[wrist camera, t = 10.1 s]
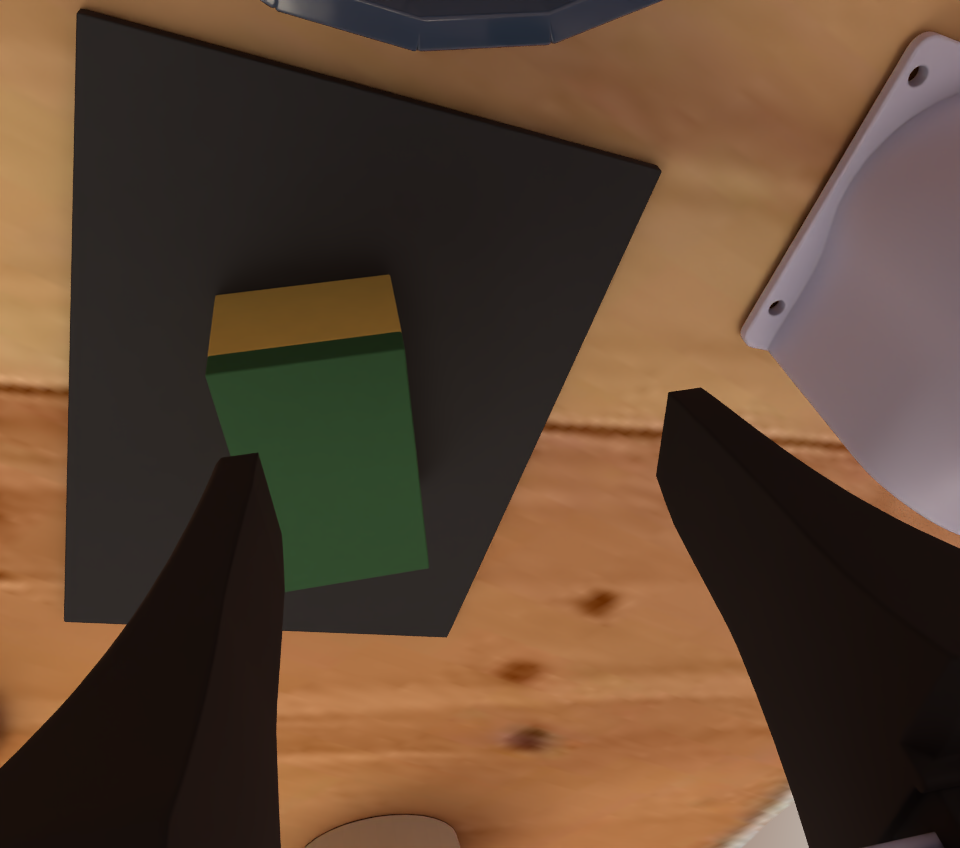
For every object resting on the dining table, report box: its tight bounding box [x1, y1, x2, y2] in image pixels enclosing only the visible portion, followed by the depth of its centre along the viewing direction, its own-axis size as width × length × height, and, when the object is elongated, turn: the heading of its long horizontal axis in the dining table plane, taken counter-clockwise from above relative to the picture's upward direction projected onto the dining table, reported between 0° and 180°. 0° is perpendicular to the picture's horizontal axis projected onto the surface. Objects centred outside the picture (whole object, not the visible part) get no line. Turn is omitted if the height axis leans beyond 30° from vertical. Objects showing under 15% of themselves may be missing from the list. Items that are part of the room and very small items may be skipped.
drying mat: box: [64, 9, 661, 637], centre depth 25 cm, size 20×14×1 cm
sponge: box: [205, 275, 429, 592], centre depth 23 cm, size 8×5×4 cm, turn 2°
